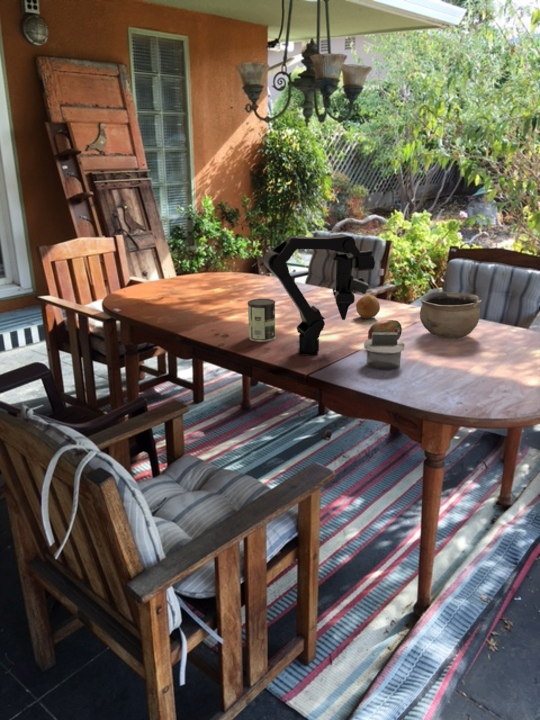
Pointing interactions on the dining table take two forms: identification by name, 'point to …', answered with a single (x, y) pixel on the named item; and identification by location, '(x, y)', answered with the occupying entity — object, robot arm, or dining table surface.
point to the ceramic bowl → (450, 314)
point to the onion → (368, 306)
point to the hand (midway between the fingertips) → (342, 316)
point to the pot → (383, 360)
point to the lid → (384, 343)
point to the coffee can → (261, 320)
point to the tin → (386, 328)
